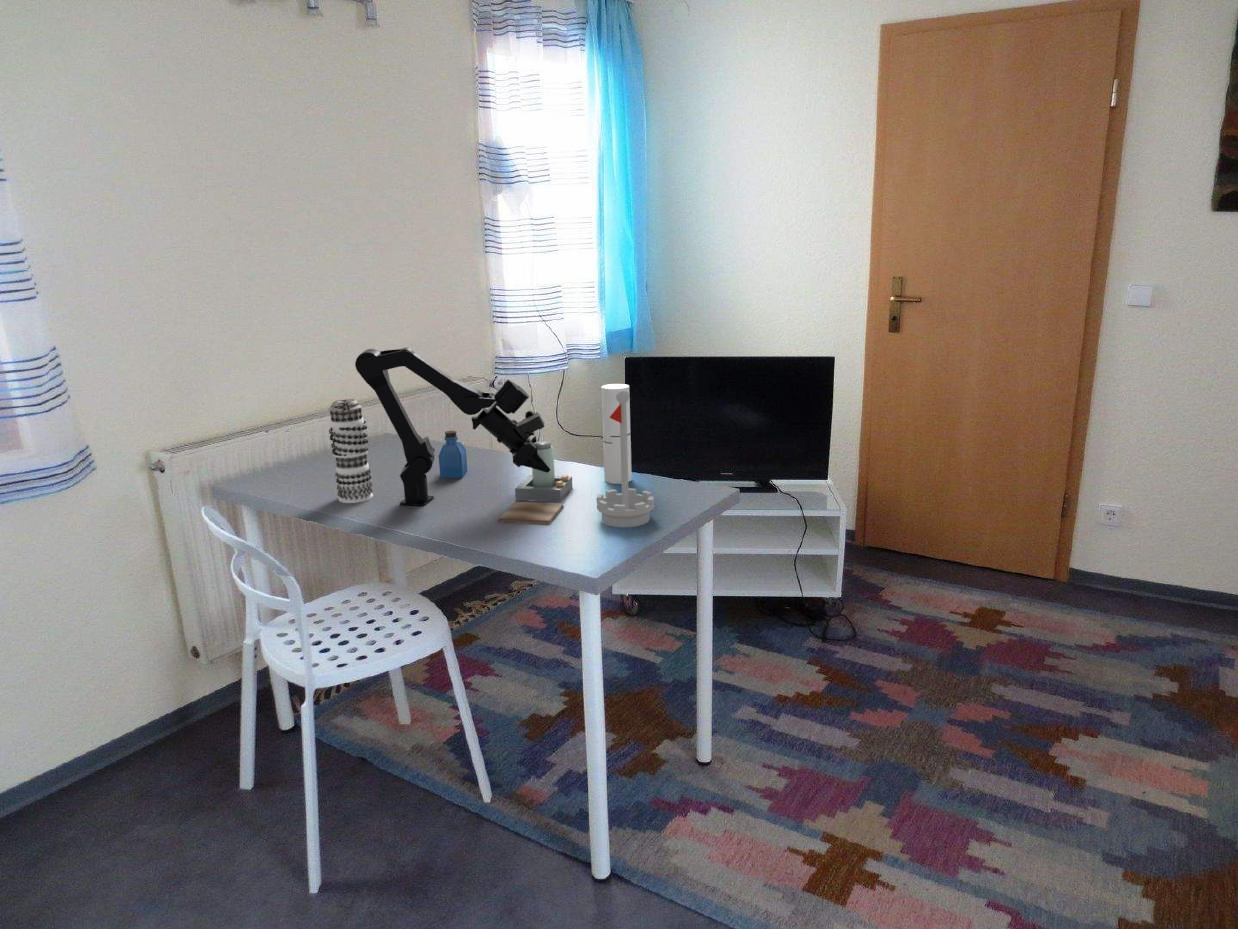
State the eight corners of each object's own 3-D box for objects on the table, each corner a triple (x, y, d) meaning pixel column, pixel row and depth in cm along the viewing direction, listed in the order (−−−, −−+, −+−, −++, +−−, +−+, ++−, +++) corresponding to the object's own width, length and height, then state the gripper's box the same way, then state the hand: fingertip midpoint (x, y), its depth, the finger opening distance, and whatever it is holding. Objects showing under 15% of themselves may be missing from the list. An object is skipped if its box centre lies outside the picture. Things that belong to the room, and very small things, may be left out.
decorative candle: (382, 493, 219) (371, 397, 212) (361, 504, 210) (349, 405, 204) (351, 491, 222) (340, 396, 215) (329, 502, 213) (317, 404, 206)
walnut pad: (549, 524, 193) (549, 520, 193) (499, 521, 196) (498, 518, 195) (563, 507, 205) (563, 503, 204) (515, 505, 207) (515, 502, 207)
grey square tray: (560, 501, 209) (559, 486, 207) (515, 500, 211) (514, 484, 210) (572, 487, 219) (571, 472, 218) (529, 486, 222) (528, 471, 221)
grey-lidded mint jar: (551, 497, 212) (549, 446, 208) (530, 496, 213) (528, 445, 209) (557, 490, 217) (555, 441, 214) (537, 489, 218) (534, 440, 215)
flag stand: (618, 506, 204) (615, 382, 196) (665, 515, 197) (663, 387, 189) (585, 522, 194) (580, 392, 186) (633, 532, 186) (630, 398, 178)
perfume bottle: (463, 477, 231) (459, 434, 228) (440, 477, 231) (436, 434, 228) (467, 471, 237) (464, 429, 234) (445, 471, 237) (441, 429, 234)
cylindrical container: (628, 484, 221) (626, 389, 214) (601, 483, 222) (598, 388, 216) (633, 476, 228) (631, 383, 221) (607, 475, 229) (604, 383, 222)
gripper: (524, 411, 199) (573, 454, 204) (523, 396, 217) (568, 435, 221) (492, 445, 201) (541, 487, 205) (494, 427, 219) (539, 466, 223)
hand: (548, 468), depth 213 cm, fingers closed on grey-lidded mint jar, 5 cm apart
